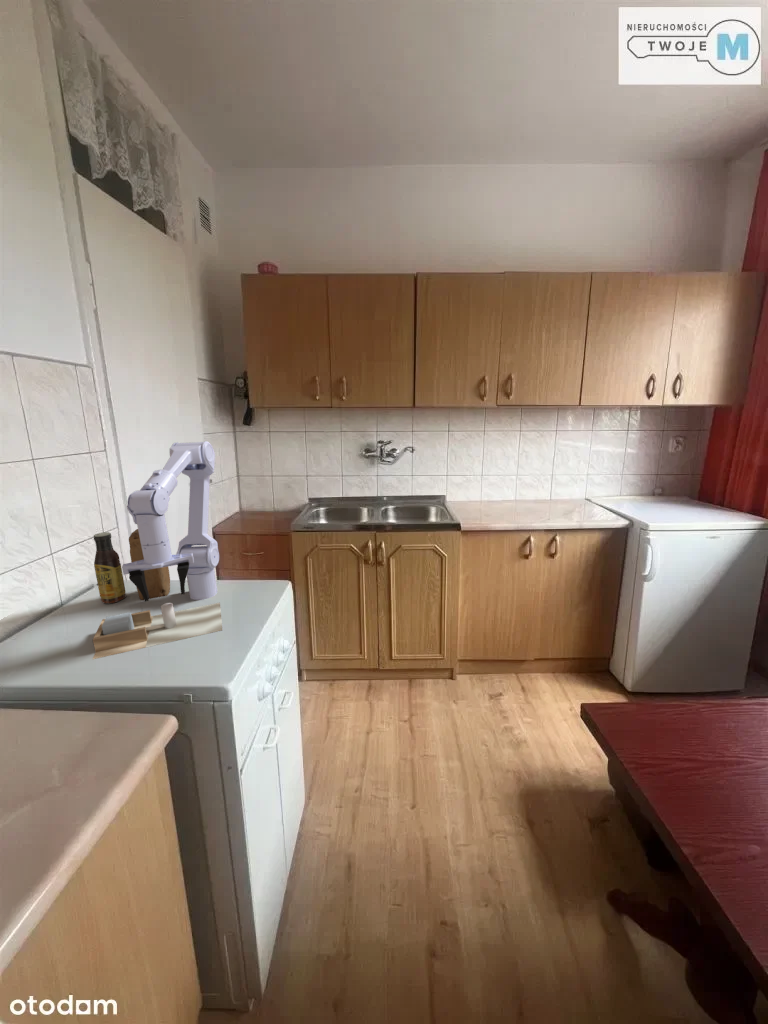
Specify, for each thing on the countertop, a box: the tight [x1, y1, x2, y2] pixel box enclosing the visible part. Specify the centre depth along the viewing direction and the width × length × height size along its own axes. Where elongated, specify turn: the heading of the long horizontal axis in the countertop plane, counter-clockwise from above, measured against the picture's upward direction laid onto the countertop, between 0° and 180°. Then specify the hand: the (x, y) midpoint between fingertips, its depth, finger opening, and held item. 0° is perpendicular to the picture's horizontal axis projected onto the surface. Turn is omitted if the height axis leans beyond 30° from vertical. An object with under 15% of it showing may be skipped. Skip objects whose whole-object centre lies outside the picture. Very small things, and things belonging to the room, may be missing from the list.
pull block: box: [102, 602, 177, 635], centre depth 99 cm, size 5×14×6 cm, turn 113°
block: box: [128, 528, 171, 601], centre depth 121 cm, size 11×8×20 cm
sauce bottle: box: [93, 531, 127, 604], centre depth 119 cm, size 6×6×20 cm
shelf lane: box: [92, 602, 223, 660], centre depth 101 cm, size 16×26×4 cm, turn 113°
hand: (165, 596), depth 100 cm, fingers open, 7 cm apart
